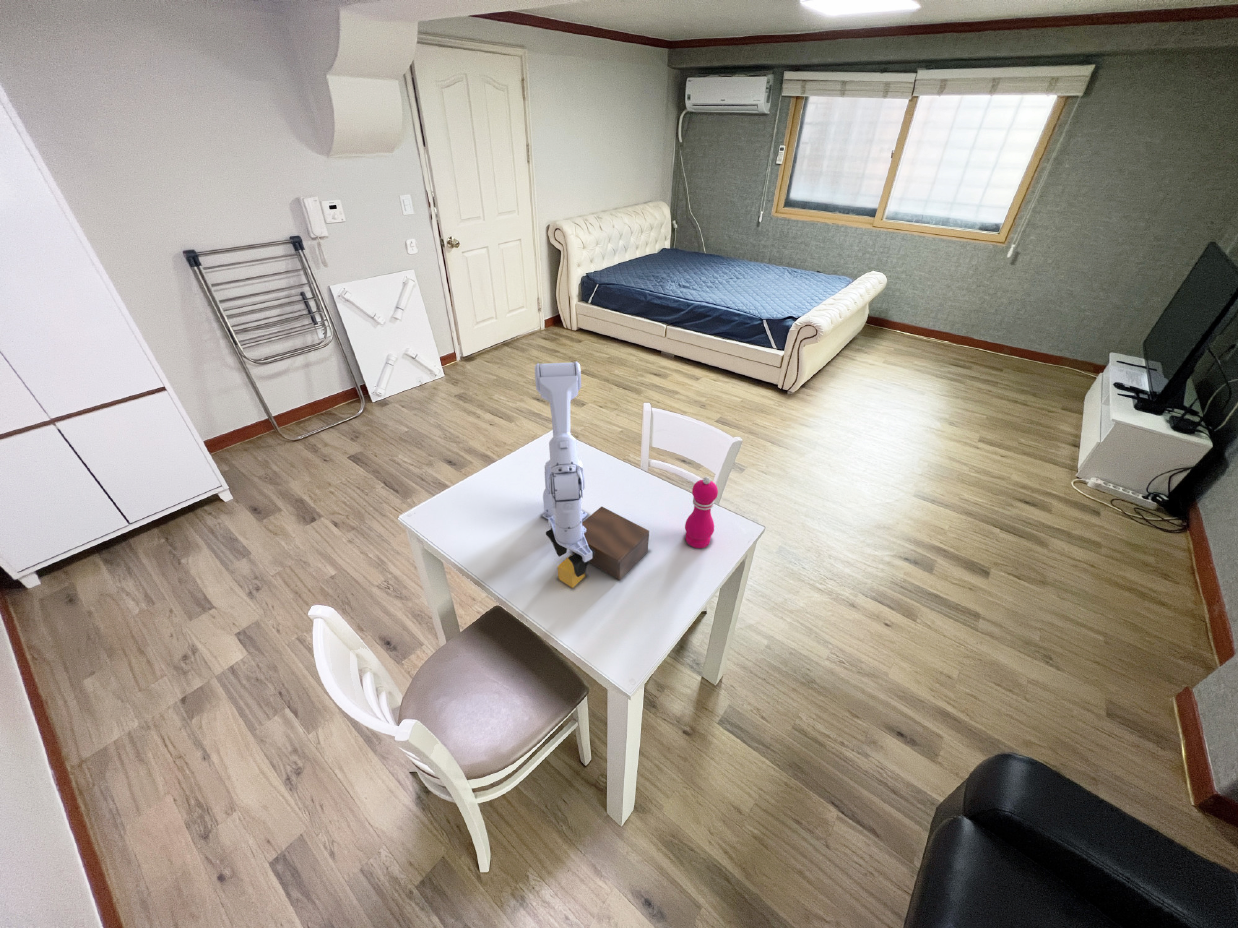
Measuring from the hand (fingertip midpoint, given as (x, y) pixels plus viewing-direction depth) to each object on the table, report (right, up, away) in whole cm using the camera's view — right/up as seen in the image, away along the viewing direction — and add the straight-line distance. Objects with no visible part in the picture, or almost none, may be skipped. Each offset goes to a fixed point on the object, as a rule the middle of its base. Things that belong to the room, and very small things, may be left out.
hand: (571, 563), depth 111 cm
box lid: (+9, +6, +6) cm, 12 cm away
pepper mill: (+31, +3, +14) cm, 34 cm away
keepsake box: (+9, +1, +10) cm, 13 cm away
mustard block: (0, -4, +3) cm, 5 cm away
